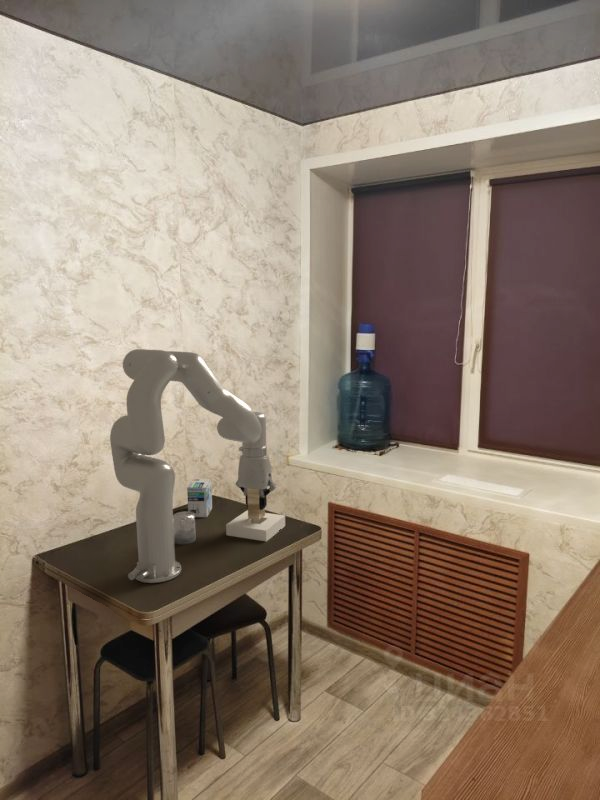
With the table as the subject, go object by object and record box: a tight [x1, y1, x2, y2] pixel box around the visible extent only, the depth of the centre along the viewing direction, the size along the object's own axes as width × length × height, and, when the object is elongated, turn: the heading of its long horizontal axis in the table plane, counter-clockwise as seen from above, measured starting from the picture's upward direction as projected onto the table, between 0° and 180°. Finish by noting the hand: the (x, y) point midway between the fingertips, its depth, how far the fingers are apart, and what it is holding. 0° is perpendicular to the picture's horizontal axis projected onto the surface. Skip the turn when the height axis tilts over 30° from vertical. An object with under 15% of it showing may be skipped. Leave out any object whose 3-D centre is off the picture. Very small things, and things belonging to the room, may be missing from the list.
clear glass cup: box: [173, 510, 197, 545], centre depth 178 cm, size 7×7×8 cm
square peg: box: [247, 488, 266, 520], centre depth 185 cm, size 4×4×10 cm
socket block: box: [225, 509, 286, 542], centre depth 186 cm, size 14×14×4 cm
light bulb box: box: [186, 478, 213, 518], centre depth 203 cm, size 11×7×11 cm, turn 179°
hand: (256, 507), depth 185 cm, fingers closed on square peg, 4 cm apart
